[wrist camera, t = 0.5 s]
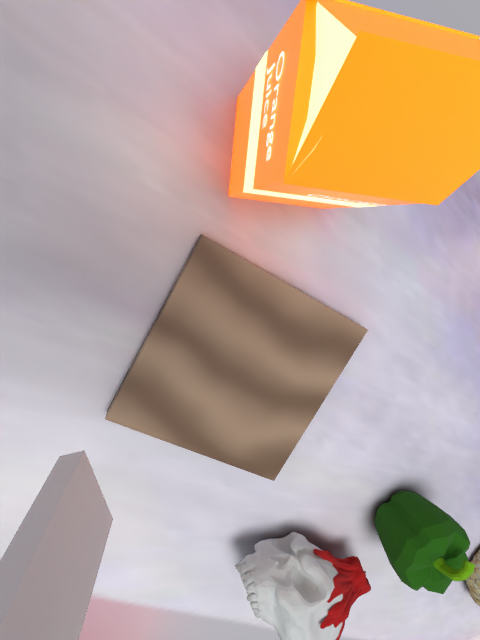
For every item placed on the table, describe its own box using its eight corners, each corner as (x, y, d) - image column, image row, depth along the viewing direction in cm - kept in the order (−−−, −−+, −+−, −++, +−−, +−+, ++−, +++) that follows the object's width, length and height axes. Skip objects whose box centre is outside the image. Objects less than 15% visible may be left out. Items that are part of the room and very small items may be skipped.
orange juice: (236, 95, 29) (382, -134, 10) (339, 114, 31) (619, -45, 12) (227, 199, 31) (334, 170, 12) (324, 211, 33) (545, 202, 14)
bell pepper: (384, 549, 46) (442, 635, 36) (352, 512, 43) (406, 595, 34) (437, 507, 46) (509, 582, 36) (408, 467, 43) (477, 537, 34)
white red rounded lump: (227, 534, 40) (346, 498, 44) (230, 613, 43) (342, 572, 47) (258, 617, 31) (401, 562, 36) (259, 707, 34) (391, 646, 39)
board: (201, 234, 31) (203, 235, 30) (359, 325, 37) (367, 329, 35) (107, 410, 34) (105, 419, 32) (269, 471, 39) (273, 480, 38)
